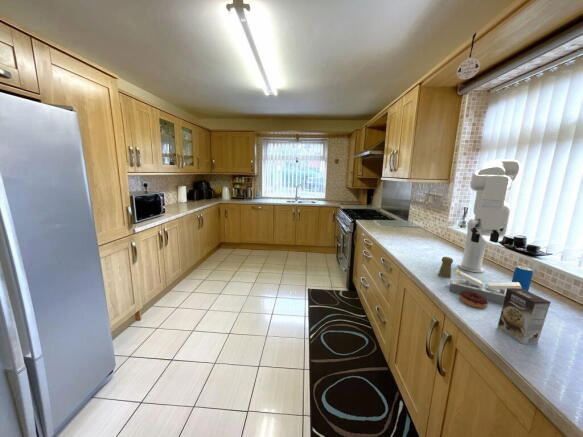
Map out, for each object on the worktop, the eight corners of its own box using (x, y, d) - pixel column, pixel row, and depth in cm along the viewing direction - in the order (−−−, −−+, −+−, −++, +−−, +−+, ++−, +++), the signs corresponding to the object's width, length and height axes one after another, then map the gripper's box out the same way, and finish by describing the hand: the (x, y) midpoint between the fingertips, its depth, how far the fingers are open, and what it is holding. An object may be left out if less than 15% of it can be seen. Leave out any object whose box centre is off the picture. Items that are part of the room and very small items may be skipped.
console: (449, 284, 118) (451, 274, 117) (520, 302, 104) (523, 290, 103) (450, 291, 111) (452, 280, 110) (525, 310, 97) (529, 298, 96)
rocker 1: (454, 272, 115) (456, 269, 114) (479, 284, 110) (481, 281, 109) (455, 275, 111) (457, 271, 111) (480, 287, 107) (483, 284, 106)
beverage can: (524, 288, 117) (529, 266, 115) (530, 294, 111) (536, 271, 109) (508, 285, 120) (513, 264, 117) (513, 291, 114) (519, 268, 111)
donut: (491, 311, 96) (493, 303, 95) (463, 306, 99) (465, 298, 98) (480, 299, 105) (482, 291, 104) (455, 295, 108) (457, 287, 107)
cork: (452, 278, 125) (456, 260, 123) (440, 277, 127) (444, 258, 124) (447, 274, 131) (451, 256, 129) (436, 272, 132) (439, 255, 130)
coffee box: (496, 326, 86) (505, 287, 82) (511, 326, 86) (521, 287, 83) (522, 344, 77) (534, 301, 73) (539, 344, 77) (551, 301, 74)
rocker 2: (487, 286, 108) (487, 282, 108) (519, 286, 102) (518, 282, 102) (489, 289, 105) (488, 285, 105) (522, 289, 99) (521, 285, 99)
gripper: (500, 203, 103) (492, 239, 106) (466, 202, 101) (459, 239, 104) (518, 205, 96) (509, 244, 99) (483, 204, 93) (474, 244, 96)
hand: (484, 242), depth 101 cm, fingers open, 9 cm apart
